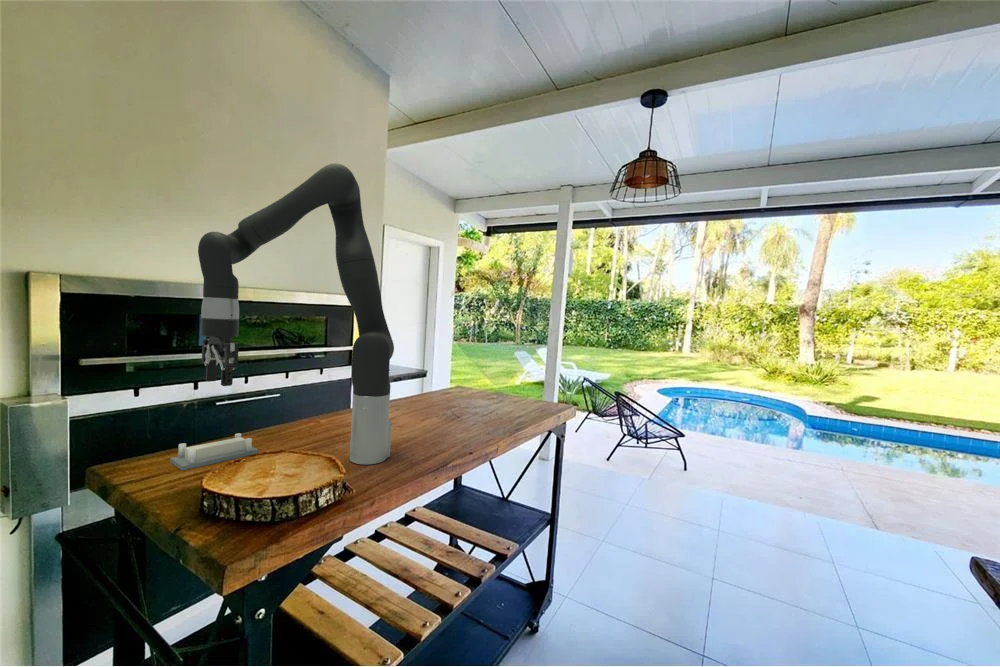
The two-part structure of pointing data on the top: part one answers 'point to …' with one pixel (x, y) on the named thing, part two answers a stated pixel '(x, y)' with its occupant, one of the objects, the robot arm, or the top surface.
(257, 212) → the robot arm
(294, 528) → the top surface
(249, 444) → the grey pegged tray
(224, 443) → the clay strip
